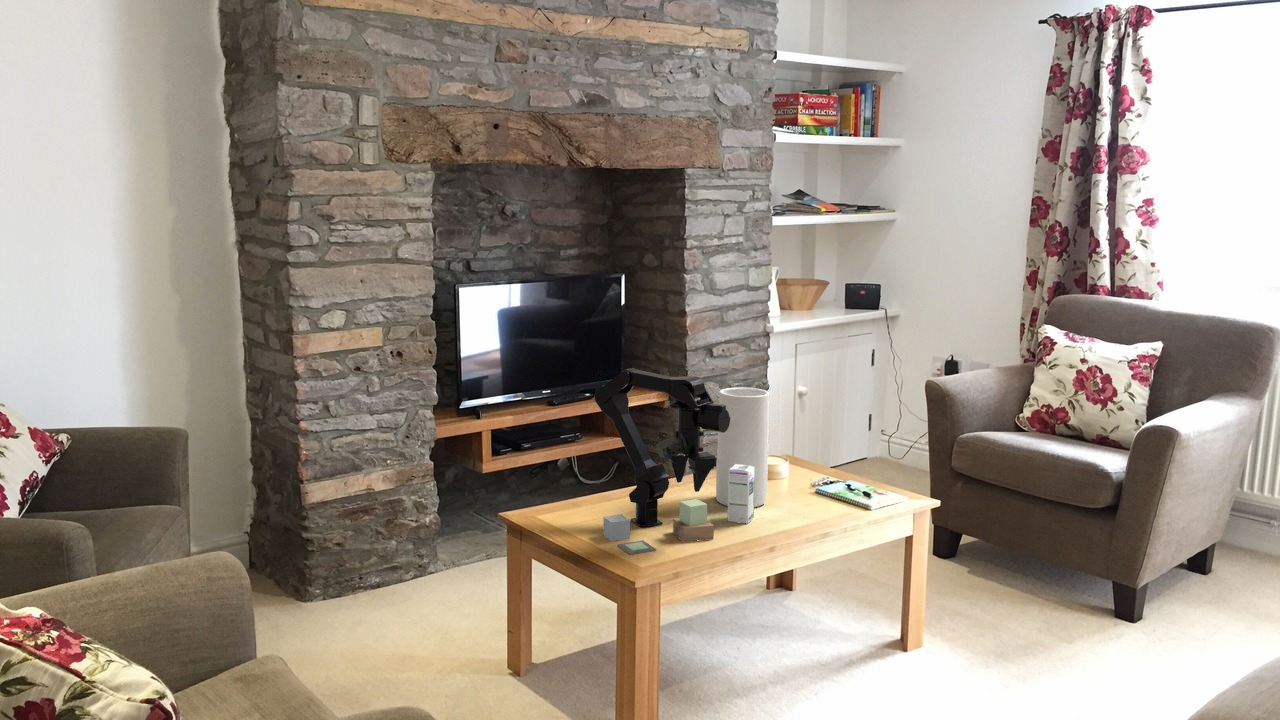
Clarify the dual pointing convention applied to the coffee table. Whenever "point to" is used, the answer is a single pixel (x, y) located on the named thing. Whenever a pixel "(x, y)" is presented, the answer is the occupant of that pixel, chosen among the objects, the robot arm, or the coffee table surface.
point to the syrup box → (741, 493)
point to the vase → (744, 440)
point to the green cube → (693, 512)
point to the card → (636, 547)
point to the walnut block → (692, 531)
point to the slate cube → (616, 527)
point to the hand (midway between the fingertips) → (687, 486)
